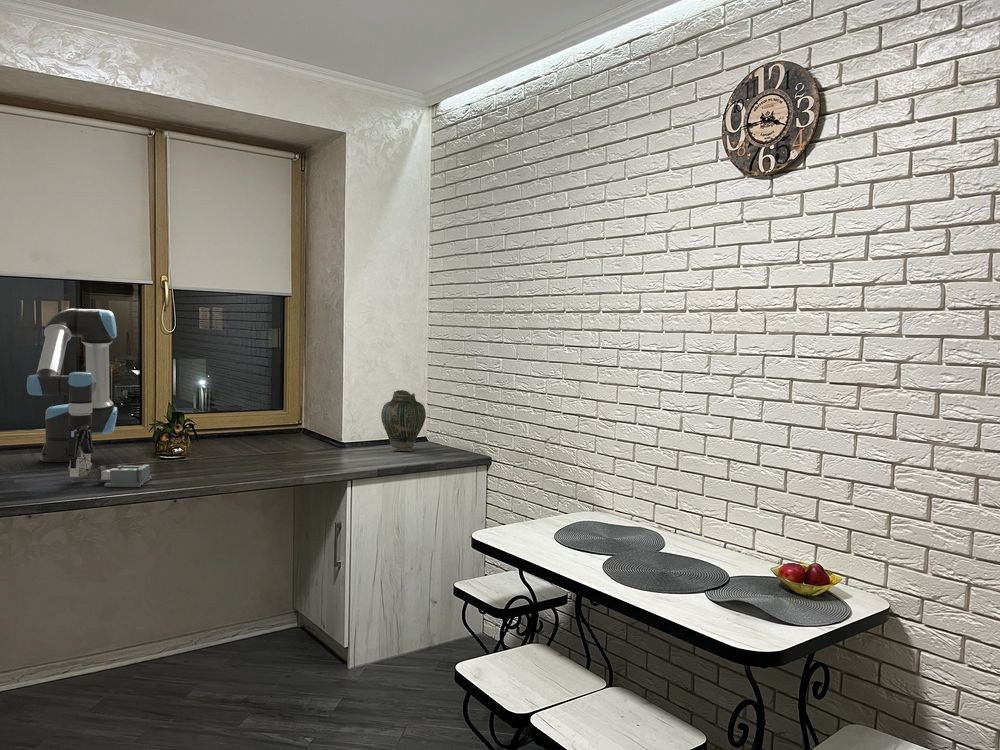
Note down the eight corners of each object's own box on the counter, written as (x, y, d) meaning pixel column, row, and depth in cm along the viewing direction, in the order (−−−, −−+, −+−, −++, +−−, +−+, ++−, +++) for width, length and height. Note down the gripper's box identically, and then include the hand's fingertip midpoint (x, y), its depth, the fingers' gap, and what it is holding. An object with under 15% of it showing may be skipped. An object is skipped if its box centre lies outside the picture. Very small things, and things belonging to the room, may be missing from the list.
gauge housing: (118, 478, 276) (118, 462, 276) (151, 478, 278) (151, 463, 278) (104, 486, 262) (104, 470, 262) (139, 486, 264) (139, 470, 264)
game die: (74, 487, 266) (55, 467, 262) (85, 475, 274) (66, 455, 270) (93, 477, 265) (74, 457, 261) (104, 465, 272) (85, 445, 268)
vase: (379, 446, 371) (381, 388, 369) (422, 446, 375) (424, 389, 373) (380, 454, 349) (382, 392, 347) (426, 454, 354) (428, 393, 352)
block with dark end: (101, 477, 271) (102, 463, 270) (128, 477, 272) (128, 463, 272) (94, 481, 264) (94, 467, 264) (121, 481, 265) (121, 467, 265)
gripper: (82, 410, 276) (82, 467, 278) (55, 417, 254) (55, 480, 256) (103, 410, 277) (102, 467, 279) (78, 418, 255) (78, 480, 257)
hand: (80, 473), depth 267 cm, fingers closed on game die, 10 cm apart
